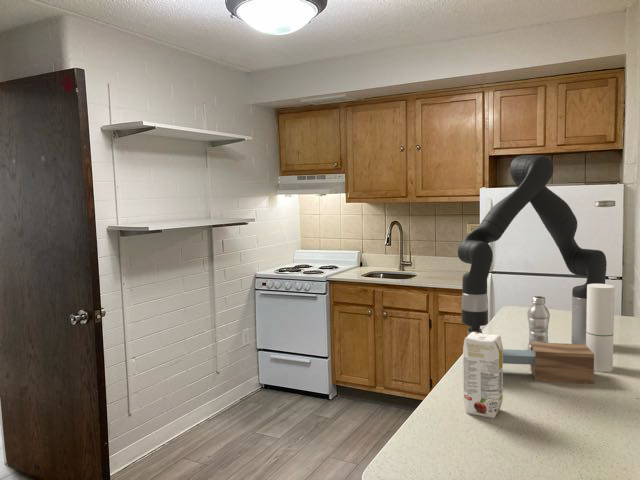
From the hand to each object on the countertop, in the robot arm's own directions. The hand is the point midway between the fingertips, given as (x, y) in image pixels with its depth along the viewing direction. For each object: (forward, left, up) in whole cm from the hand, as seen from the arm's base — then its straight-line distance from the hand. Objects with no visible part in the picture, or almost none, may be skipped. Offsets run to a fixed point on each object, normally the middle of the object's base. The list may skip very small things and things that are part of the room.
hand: (474, 362), depth 154 cm
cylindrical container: (-9, +36, -3) cm, 38 cm away
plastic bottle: (-15, +20, -3) cm, 26 cm away
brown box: (0, +24, -3) cm, 24 cm away
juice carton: (+28, 0, -3) cm, 28 cm away
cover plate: (0, +7, +1) cm, 7 cm away
